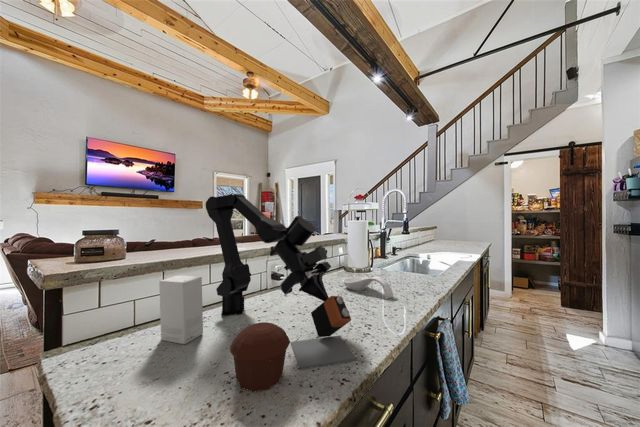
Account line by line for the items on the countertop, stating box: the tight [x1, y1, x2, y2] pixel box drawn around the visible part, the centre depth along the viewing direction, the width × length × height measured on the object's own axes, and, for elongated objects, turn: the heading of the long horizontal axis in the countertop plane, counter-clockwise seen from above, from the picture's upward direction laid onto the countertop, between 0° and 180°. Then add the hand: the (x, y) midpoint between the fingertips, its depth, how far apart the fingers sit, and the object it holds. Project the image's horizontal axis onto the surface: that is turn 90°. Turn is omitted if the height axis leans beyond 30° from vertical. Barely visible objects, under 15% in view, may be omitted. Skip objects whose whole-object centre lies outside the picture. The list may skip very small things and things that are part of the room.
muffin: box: [229, 321, 291, 393], centre depth 51 cm, size 12×11×10 cm
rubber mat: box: [290, 335, 358, 370], centre depth 60 cm, size 13×11×1 cm
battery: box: [310, 295, 352, 338], centre depth 66 cm, size 4×7×10 cm
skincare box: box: [158, 274, 204, 345], centre depth 67 cm, size 8×7×16 cm
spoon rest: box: [342, 276, 394, 300], centre depth 108 cm, size 24×12×7 cm, turn 40°
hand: (327, 300), depth 68 cm, fingers closed
